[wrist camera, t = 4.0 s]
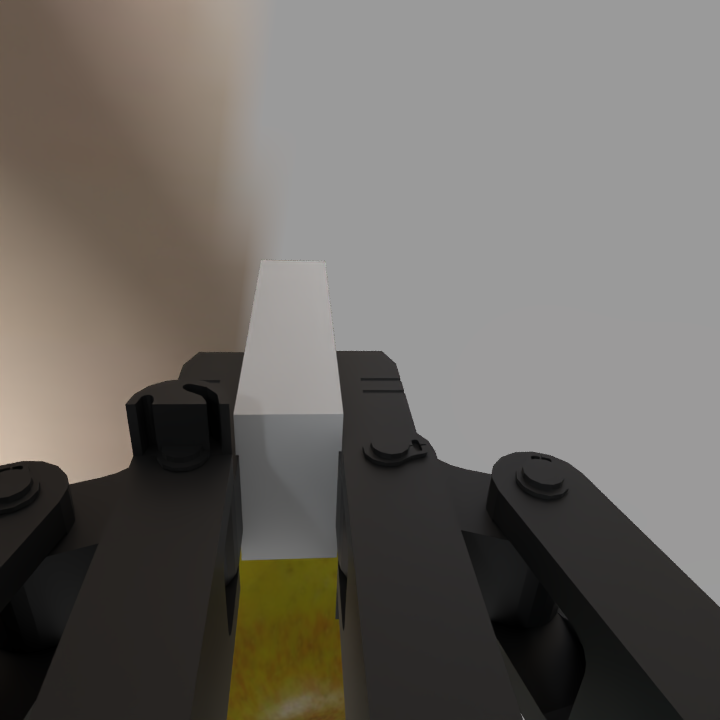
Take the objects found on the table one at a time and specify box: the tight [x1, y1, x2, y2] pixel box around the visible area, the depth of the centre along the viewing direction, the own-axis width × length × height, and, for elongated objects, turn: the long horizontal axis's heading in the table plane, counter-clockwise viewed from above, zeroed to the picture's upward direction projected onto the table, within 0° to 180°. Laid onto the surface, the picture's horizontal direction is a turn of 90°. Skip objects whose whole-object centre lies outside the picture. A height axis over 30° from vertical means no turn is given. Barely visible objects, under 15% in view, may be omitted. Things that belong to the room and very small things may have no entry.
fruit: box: [227, 551, 346, 720], centre depth 19 cm, size 10×9×8 cm
